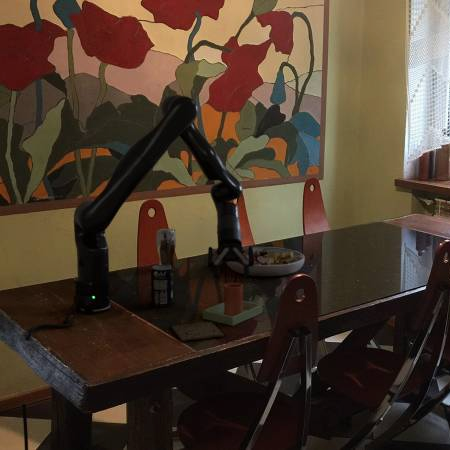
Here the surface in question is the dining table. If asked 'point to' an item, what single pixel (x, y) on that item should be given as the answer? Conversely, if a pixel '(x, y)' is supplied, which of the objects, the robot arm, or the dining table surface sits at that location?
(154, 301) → the beverage can
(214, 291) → the dining table surface
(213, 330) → the speckled square tile
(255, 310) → the tray
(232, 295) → the cup
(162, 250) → the beer glass
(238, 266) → the bowl
